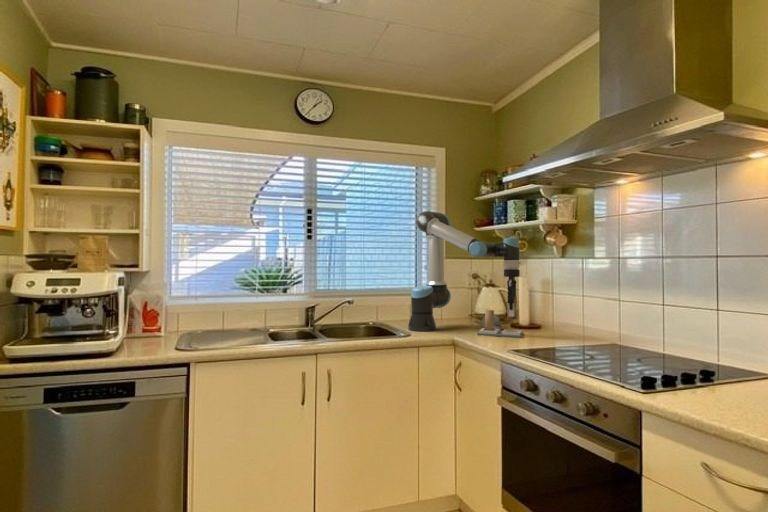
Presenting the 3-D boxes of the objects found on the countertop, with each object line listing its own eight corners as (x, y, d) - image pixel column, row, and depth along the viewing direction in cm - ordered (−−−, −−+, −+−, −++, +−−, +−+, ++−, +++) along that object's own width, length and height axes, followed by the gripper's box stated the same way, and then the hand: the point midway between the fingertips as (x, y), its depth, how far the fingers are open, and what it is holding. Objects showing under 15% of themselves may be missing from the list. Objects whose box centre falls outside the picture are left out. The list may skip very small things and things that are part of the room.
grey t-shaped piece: (477, 335, 220) (477, 311, 220) (482, 331, 230) (482, 308, 231) (520, 338, 211) (520, 313, 211) (523, 334, 222) (523, 310, 222)
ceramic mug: (480, 329, 240) (480, 314, 240) (487, 327, 246) (487, 313, 246) (498, 331, 233) (498, 316, 233) (505, 329, 240) (505, 315, 240)
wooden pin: (507, 319, 217) (506, 297, 218) (508, 318, 221) (508, 296, 222) (516, 319, 216) (515, 297, 216) (517, 318, 220) (517, 296, 220)
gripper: (517, 269, 209) (517, 318, 209) (521, 268, 225) (522, 314, 225) (501, 269, 213) (501, 317, 212) (506, 268, 228) (507, 313, 228)
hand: (512, 315), depth 219 cm, fingers closed on wooden pin, 4 cm apart
